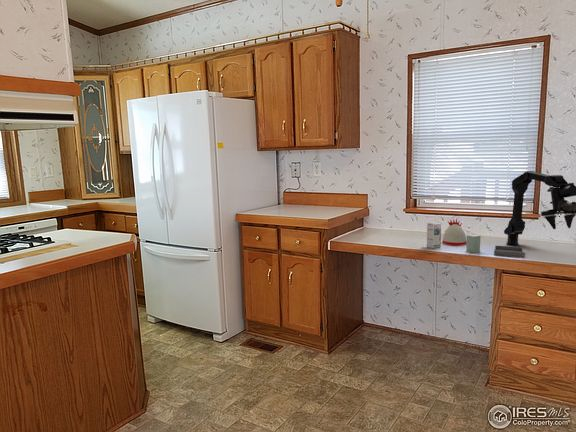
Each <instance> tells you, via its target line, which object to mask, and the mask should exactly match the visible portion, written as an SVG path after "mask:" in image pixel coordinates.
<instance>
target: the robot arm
mask: <svg viewBox="0 0 576 432" xmlns="http://www.w3.org/2000/svg"><path fill="white" fill-rule="evenodd" d="M533 180H534V181H537V182H542V183H543V184H545V185H547V186H548V187H549V188H548V189H547V191H546V192H549V193H550V195H551V196H550V197H551V201H549V203H550V204H551V205H552V209H545V210H541V212H540V216H541V217H543V219H545V220H546V221H547V222H548V223H549V225H550V226H551V228H552V229H553V230H556V229H557V227H556V217H557V215H562V214H563V218H564V220H565V223H566V226H567V228H568V229H571V227H572V223H573V220H574V218H575V216H576V201H572V202H570V203H569V202H568V200H567V199H566V198H571V197H575V196H576V185H575V183H574V182H570V183H569V182H567V180H566V179H565V178H564V176H563V175H562V174H554V175H551V174H549V175H548V174H546V173H541V172H535V171H533V170H529V171H525V172H523V173H522V174H520V175H519V176H517V177H515V178H514V179H512V181H511V190H512V191H513V193H514V194H513V195H514V196H513V205H512V215H511V218H510V220H509V221H508V224H507V227H506V228H505V229H504V230H503V233H504V235H507V239H506V240H507V241H506V244H505V246H516V247H520V243H519V235H522V234H523V232H524V231H525V229H526V221H525V220H524V219H523V217H522V216H523V209H524V208H523V207H524V199H525V198H524V197H525V196H524V195H525V193H526V191H527V190H528V188H529V185H530V184H531V183H532V181H533Z"/></svg>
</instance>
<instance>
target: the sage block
mask: <svg viewBox="0 0 576 432" xmlns="http://www.w3.org/2000/svg"><path fill="white" fill-rule="evenodd" d="M481 238H482V237H481V235H478V234H467V235H466V240H467V243H466V248H465V250H466V252H469V253H478V252H480V251H481Z"/></svg>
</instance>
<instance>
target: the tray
mask: <svg viewBox="0 0 576 432" xmlns="http://www.w3.org/2000/svg"><path fill="white" fill-rule="evenodd" d="M493 251H494V253H493V256H499V257H500V256H502V257H514V258H515V257H516V258H524V247H521V246H511V245H497V244H496V245H494V248H493Z"/></svg>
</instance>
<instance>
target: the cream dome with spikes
mask: <svg viewBox="0 0 576 432" xmlns="http://www.w3.org/2000/svg"><path fill="white" fill-rule="evenodd" d="M455 219H456V220H455ZM455 219H453V220H452V219H450V220H447V223H448V225H449V226H448V227H447V228H446V229H445V230H444V232H443V233H444V234H443V236H442V244H444V245H448V246H465V245H467V235H466V233H465V230H464V229H463V226H462V224H463V223H462V222H461V221H460V220H458V219H457V218H455ZM449 221H450V222H449ZM460 222H461V223H460Z"/></svg>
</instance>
